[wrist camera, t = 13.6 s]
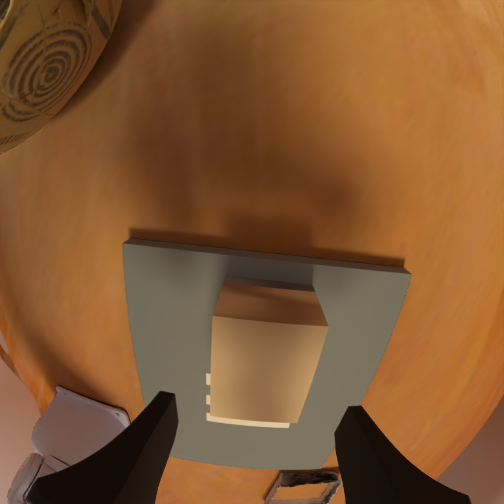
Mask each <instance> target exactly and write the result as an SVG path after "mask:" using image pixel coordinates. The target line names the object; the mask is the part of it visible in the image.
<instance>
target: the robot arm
mask: <svg viewBox="0 0 504 504" xmlns="http://www.w3.org/2000/svg"><path fill="white" fill-rule="evenodd" d="M56 390H57V395H56V396H55V397H54V399H53V400H52V401H51V403H50V404H49V406H48V407H47V408H46V410H45V411H44V412H43V414H42V415H41V417H40V418H39V420H38V421H37V422H36V424H35V426H34V428H33V433H32V445H33V448H34V450H35V452H36V453H31V454H30V455H29V456H28V457H27V458H26V460H25V461H24V462H23V464H22V465H21V467H20V468H19V470H18V472H17V474H16V475H15V477H14V480H13V482H12V485H11V488H10V489H9V491H8V494H7V498H8V504H27V503H28V504H155V500H156V495H157V490H158V486H159V483H160V480H161V477H162V474H163V471H164V469H165V466H166V463H167V460H168V458H169V455H170V452H171V449H172V447H173V444H174V441H175V436H176V432H177V427H178V423H179V419H178V412H177V405H176V397H175V393H170V392H166V391H159V392H158V393H157V395H156V396H155V397H154V398H153V400H152V401H151V402H150V403H149V404H148V406H147V407H146V408H145V409H144V410H143V411H142V412H141V413H140V414H139V415H138V417H137V418H136V419H135V420H134V421H133V422H132V423H131V424H130V421H129V418H128V416H127V413H126V412H125V411H123V410H120V409H117V408H114V407H111V406H108V405H105V404H102V403H99V402H96V401H94V400H91V399H88V398H86V397H83V396H81V395H78V394H76V393H74V392H71V391H69V390H67V389H64V388H62V387H60V386H57V387H56ZM334 436H335V448H336V455H337V460H338V465H339V469H340V474H341V478H342V483H343V487H344V493H345V502H346V504H471V501H470V499H469V496H468V495H465V494H463V493H460V492H458V491H455V490H453V489H450V488H448V487H446V486H444V485H442V484H441V483H439V482H437V481H435V480H434V479H432V478H431V477H429V476H428V475H426V474H425V473H423V472H422V471H421V470H419V469H418V468H417V467H416V466H414V465H413V464H412V463H411V462H410V461H408V460H407V459H406V458H405V457H404V456H403V455H402V454H401V453H400V452H399V451H398V450H397V449H396V448H395V447H394V445H393V444H392V443H391V442H390V441H389V440H388V439H387V437H386V436H385V435H384V434H383V433H382V431H381V430H380V429H379V428H378V426H377V425H376V424H375V423H374V421H373V420H372V419H371V418H370V416H369V415H368V414H367V412H366V411H365V410H364V409H363V407H362V406H361V405H360V406H348V408H347V410H346V412H345V414H344V416H343V417H342V419H341V421H340V423H339V425H338V427H337V429H336V430H335V432H334ZM26 502H27V503H26Z"/></svg>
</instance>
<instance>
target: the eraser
mask: <svg viewBox="0 0 504 504" xmlns="http://www.w3.org/2000/svg"><path fill="white" fill-rule="evenodd" d="M328 328H329V326H328V323H327V321H326V318H325V315H324V313H323V310H322V307H321V305H320V302H319V299H318V297H317V294H316V292H315V289H314V287H313V285H312V284H301V283H291V282H282V281H272V280H263V279H254V278H245V277H236V276H227V275H226V277H225V280H224V283H223V286H222V289H221V292H220V295H219V298H218V301H217V304H216V307H215V310H214V313H213V316H212V342H211V380H210V416H214V417H222V418H229V419H238V420H248V421H260V422H277V423H297V422H298V419H299V416H300V414H301V411H302V408H303V406H304V403H305V400H306V397H307V395H308V392H309V389H310V386H311V383H312V380H313V377H314V374H315V371H316V368H317V365H318V361H319V358H320V355H321V352H322V348H323V345H324V342H325V338H326V335H327V331H328Z"/></svg>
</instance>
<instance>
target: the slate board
mask: <svg viewBox="0 0 504 504" xmlns="http://www.w3.org/2000/svg"><path fill="white" fill-rule="evenodd" d="M122 244H123V264H124V278H125V289H126V299H127V308H128V316H129V324H130V331H131V337H132V344H133V350H134V355H135V361H136V366H137V371H138V376H139V381H140V385H141V390H142V394H143V398H144V402H145V406H146V407H147V406H148V404H149V403H150V402H151V401H152V400H153V398H154V397H155V396H156V395H157V393H158V392H159V391H166V392H170V393H175V397H176V405H177V412H178V419H179V423H178V427H177V432H176V436H175V441H174V444H173V447H172V449H171V452H170V455H169V456H171V457H175V458H180V459H185V460H190V461H195V462H201V463H207V464H214V465H221V466H229V467H239V468H251V469H271V470H304V469H321V468H322V466H323V465H324V463H325V462H326V461H327V459H328V458H329V456H330V455H331V453H332V451H333V450H334V448H335V436H334V432H335V430H336V429H337V427H338V425H339V423H340V421H341V419H342V417H343V416H344V414H345V412H346V410H347V408H348V406H360V404H361V402H362V400H363V398H364V396H365V394H366V392H367V390H368V388H369V386H370V384H371V382H372V380H373V378H374V375H375V373H376V371H377V369H378V367H379V364H380V362H381V360H382V358H383V355H384V353H385V350H386V348H387V346H388V343H389V341H390V338H391V335H392V333H393V330H394V328H395V325H396V322H397V319H398V317H399V314H400V311H401V308H402V305H403V302H404V299H405V296H406V293H407V289H408V286H409V283H410V279H411V276H412V274H411V273H410V272H408V271H407V270H406V269H405V268H402V267H393V266H383V265H374V264H365V263H356V262H347V261H337V260H328V259H319V258H310V257H301V256H291V255H282V254H273V253H264V252H255V251H245V250H236V249H227V248H218V247H208V246H199V245H190V244H180V243H171V242H162V241H152V240H143V239H134V238H130V239H129V240H127V241H125V242H124V243H122ZM226 275H227V276H236V277H245V278H254V279H263V280H272V281H282V282H291V283H301V284H312V285H313V287H314V289H315V292H316V294H317V297H318V299H319V302H320V305H321V307H322V310H323V313H324V315H325V318H326V321H327V323H328V326H329V328H328V331H327V335H326V338H325V342H324V345H323V348H322V352H321V355H320V358H319V361H318V365H317V368H316V371H315V374H314V377H313V380H312V383H311V386H310V389H309V392H308V395H307V397H306V400H305V403H304V406H303V408H302V411H301V414H300V416H299V419H298V422H297V423H277V422H260V421H248V420H238V419H229V418H222V417H214V416H210V380H211V342H212V316H213V313H214V310H215V307H216V304H217V301H218V298H219V295H220V292H221V289H222V286H223V283H224V280H225V277H226Z"/></svg>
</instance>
